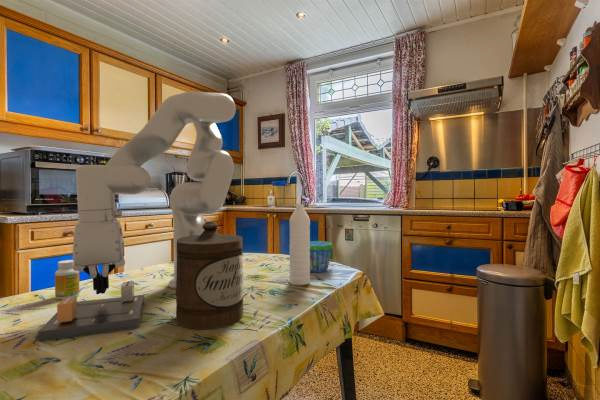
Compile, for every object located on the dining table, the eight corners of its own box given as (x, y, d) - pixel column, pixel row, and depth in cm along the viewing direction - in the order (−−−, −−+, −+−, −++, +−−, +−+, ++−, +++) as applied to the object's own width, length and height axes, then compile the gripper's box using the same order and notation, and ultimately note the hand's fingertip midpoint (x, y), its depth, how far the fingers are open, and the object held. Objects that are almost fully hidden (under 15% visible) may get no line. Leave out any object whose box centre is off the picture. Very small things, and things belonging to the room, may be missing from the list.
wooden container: (210, 335, 64) (210, 225, 63) (161, 321, 71) (160, 222, 71) (256, 311, 77) (255, 220, 76) (210, 301, 84) (210, 217, 84)
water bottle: (285, 284, 100) (285, 204, 99) (294, 279, 106) (294, 203, 105) (311, 287, 96) (312, 204, 96) (319, 282, 102) (319, 203, 101)
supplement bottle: (66, 300, 85) (66, 263, 84) (50, 299, 86) (49, 263, 86) (84, 294, 90) (83, 259, 90) (68, 292, 91) (67, 258, 91)
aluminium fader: (134, 295, 81) (134, 280, 81) (132, 300, 78) (132, 284, 78) (123, 296, 81) (123, 281, 80) (121, 301, 77) (120, 285, 77)
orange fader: (77, 313, 69) (76, 296, 69) (71, 320, 65) (71, 302, 65) (63, 315, 68) (63, 298, 68) (57, 322, 64) (57, 304, 64)
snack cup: (309, 277, 108) (309, 247, 108) (291, 271, 116) (291, 243, 116) (342, 270, 118) (342, 242, 117) (323, 265, 126) (323, 239, 126)
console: (144, 302, 83) (144, 294, 83) (138, 327, 67) (137, 318, 67) (66, 311, 77) (65, 302, 77) (38, 341, 61) (38, 331, 61)
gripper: (134, 213, 83) (137, 283, 84) (64, 217, 77) (69, 291, 78) (130, 216, 76) (134, 292, 77) (54, 220, 70) (59, 302, 71)
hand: (101, 292), depth 77 cm, fingers closed
